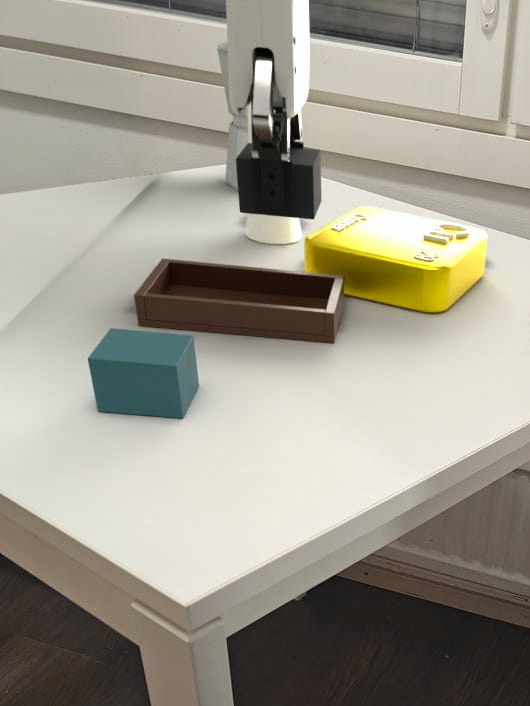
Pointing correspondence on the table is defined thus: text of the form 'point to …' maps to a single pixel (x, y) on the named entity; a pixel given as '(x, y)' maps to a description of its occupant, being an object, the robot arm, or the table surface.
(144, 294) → the tray
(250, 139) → the cosmetic bottle
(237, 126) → the coffee maker
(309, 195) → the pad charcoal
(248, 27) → the robot arm
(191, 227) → the table surface
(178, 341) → the teal block
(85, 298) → the table surface
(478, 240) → the element tile
